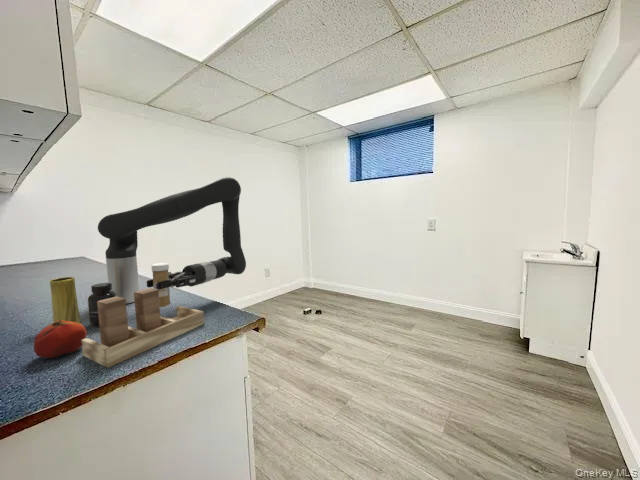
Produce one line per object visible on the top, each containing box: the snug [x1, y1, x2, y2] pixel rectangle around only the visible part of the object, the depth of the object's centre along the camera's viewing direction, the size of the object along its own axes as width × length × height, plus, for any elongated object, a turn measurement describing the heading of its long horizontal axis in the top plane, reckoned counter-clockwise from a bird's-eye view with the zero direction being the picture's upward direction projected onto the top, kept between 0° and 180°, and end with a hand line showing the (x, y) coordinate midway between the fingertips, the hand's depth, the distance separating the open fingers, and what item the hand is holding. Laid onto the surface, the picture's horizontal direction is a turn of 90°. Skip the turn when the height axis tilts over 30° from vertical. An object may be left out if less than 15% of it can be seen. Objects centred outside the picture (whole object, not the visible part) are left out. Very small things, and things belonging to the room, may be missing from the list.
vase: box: [49, 276, 82, 324], centre depth 79 cm, size 6×6×14 cm
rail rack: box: [81, 287, 205, 368], centre depth 70 cm, size 11×25×13 cm, turn 154°
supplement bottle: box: [87, 282, 117, 327], centre depth 80 cm, size 7×7×12 cm
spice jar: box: [151, 262, 171, 308], centre depth 83 cm, size 5×5×13 cm
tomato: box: [33, 320, 88, 359], centre depth 63 cm, size 9×9×8 cm
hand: (152, 285), depth 80 cm, fingers closed on spice jar, 4 cm apart
